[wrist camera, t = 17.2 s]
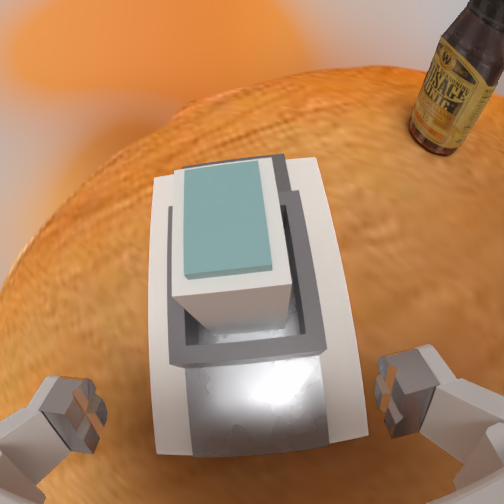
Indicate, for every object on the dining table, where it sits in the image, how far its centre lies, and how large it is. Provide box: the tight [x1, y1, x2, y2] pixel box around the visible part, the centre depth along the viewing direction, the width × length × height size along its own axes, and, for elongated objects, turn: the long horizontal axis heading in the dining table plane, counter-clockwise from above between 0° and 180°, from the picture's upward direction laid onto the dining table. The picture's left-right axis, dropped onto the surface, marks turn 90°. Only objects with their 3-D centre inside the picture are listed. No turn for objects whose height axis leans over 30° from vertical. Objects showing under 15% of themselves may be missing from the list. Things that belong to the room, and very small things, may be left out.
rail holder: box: [148, 154, 369, 458], centre depth 21 cm, size 14×22×5 cm, turn 6°
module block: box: [172, 157, 292, 336], centre depth 17 cm, size 4×6×10 cm
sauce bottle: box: [409, 0, 504, 155], centre depth 19 cm, size 6×6×20 cm
